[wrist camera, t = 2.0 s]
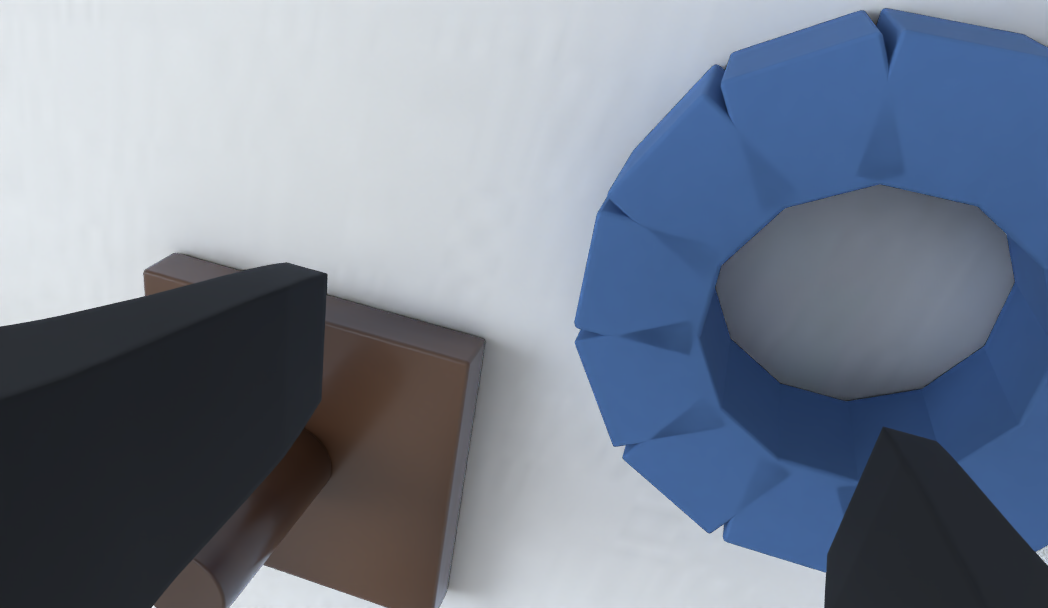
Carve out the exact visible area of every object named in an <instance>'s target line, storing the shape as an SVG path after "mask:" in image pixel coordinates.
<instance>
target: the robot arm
mask: <svg viewBox="0 0 1048 608" xmlns="http://www.w3.org/2000/svg"><path fill="white" fill-rule="evenodd" d="M326 295H327V274H326V273H323V272H319V271H315V270H312V269H308V268H305V267H301V266H297V265H294V264H290V263H279V264H272V265H267V266H261V267H257V268H252V269H248V270H244V271H240V272H236V273H232V274H228V275H224V276H220V277H216V278H213V279H209V280H205V281H201V282H197V283H194V284H190V285H186V286H182V287H178V288H175V289H171V290H167V291H163V292H159V293H155V294H152V295H148V296H144V297H140V298H136V299H131V300H127V301H123V302H118V303H114V304H110V305H105V306H101V307H97V308H92V309H88V310H83V311H79V312H75V313H70V314H66V315H62V316H57V317H52V318H47V319H42V320H36V321H31V322H25V323H20V324H14V325H8V326H1V327H0V608H151V607H152V606H153V605H154V604H155V603H156V601H157V600H158V599H159V598H160V597H161V595H162V594H163V593H164V592H165V591H166V589H167V588H168V587H169V586H170V584H171V583H172V582H173V581H174V580H175V578H176V577H177V576H178V575H179V574H180V573H181V572H182V571H183V570H184V568H185V567H186V566H187V565H188V564H189V563H190V562H191V561H192V560H193V558H194V557H195V556H196V555H197V554H198V553H199V552H200V551H201V550H202V549H203V547H204V546H205V545H206V544H207V543H208V542H209V541H210V540H211V539H212V537H213V536H214V535H215V534H216V533H217V532H218V531H219V530H220V529H221V528H222V526H223V525H224V524H225V523H226V522H227V521H228V520H229V519H230V518H231V516H232V515H233V514H234V513H235V512H236V511H237V510H238V509H239V508H240V507H241V505H242V504H243V503H244V502H245V501H246V500H247V499H248V498H249V497H250V495H251V494H252V493H253V492H254V491H255V490H256V489H257V487H258V486H259V485H260V484H261V483H262V482H263V481H264V480H265V478H266V477H267V476H268V475H269V474H270V473H271V472H272V471H273V469H274V468H275V467H276V466H277V465H278V464H279V462H280V461H281V460H282V459H283V458H284V456H285V455H286V454H287V452H288V451H289V449H290V448H291V446H292V445H293V443H294V442H295V441H296V439H297V438H298V436H299V435H300V433H301V432H302V430H303V429H304V427H305V426H306V424H307V422H308V421H309V419H310V418H311V416H312V415H313V413H314V411H315V410H316V408H317V407H318V405H319V404H320V402H321V399H322V378H323V358H324V337H325V316H326ZM824 608H1048V566H1047V565H1046V563H1045V562H1044V561H1043V560H1042V559H1041V558H1040V557H1039V556H1038V555H1037V553H1036V552H1035V551H1034V550H1033V549H1032V548H1031V547H1030V546H1029V544H1028V543H1027V542H1026V541H1025V540H1024V539H1023V538H1022V537H1021V535H1020V534H1019V533H1018V532H1017V531H1016V530H1015V529H1014V527H1013V526H1012V525H1011V524H1010V523H1009V522H1008V520H1007V519H1006V518H1005V517H1004V516H1003V515H1002V514H1001V512H1000V511H999V510H998V509H997V508H996V507H995V505H994V504H993V503H992V502H991V501H990V500H989V498H988V497H987V496H986V495H985V494H984V493H983V491H982V490H981V489H980V488H979V487H978V486H977V484H976V483H975V482H974V481H973V480H972V479H971V478H970V476H969V475H968V474H967V473H966V472H965V471H964V469H963V468H962V467H961V466H960V465H959V464H958V463H957V462H956V460H955V459H954V458H953V457H952V456H951V455H950V454H949V453H948V452H947V451H946V450H945V449H944V448H943V447H942V446H941V445H940V444H939V443H938V442H937V441H934V440H931V439H927V438H924V437H920V436H916V435H913V434H909V433H905V432H902V431H898V430H894V429H891V428H887V427H884V426H883V427H882V430H881V432H880V434H879V436H878V439H877V441H876V443H875V446H874V448H873V450H872V453H871V455H870V457H869V459H868V462H867V464H866V466H865V469H864V471H863V473H862V475H861V478H860V480H859V482H858V485H857V487H856V489H855V492H854V494H853V496H852V498H851V501H850V503H849V505H848V508H847V510H846V512H845V514H844V517H843V519H842V521H841V524H840V526H839V528H838V531H837V533H836V535H835V537H834V540H833V542H832V544H831V547H830V549H829V551H828V553H827V567H826V584H825V607H824Z"/></svg>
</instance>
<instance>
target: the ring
mask: <svg viewBox="0 0 1048 608" xmlns="http://www.w3.org/2000/svg"><path fill="white" fill-rule="evenodd" d="M879 184H881V185H885V186H890V187H894V188H898V189H903V190H907V191H912V192H916V193H920V194H925V195H929V196H934V197H938V198H942V199H947V200H951V201H956V202H960V203H964V204H969V205H973V206H977V207H978V208H979V209H980V210H982V211H983V212H984V213H985V214H986V215H987V216H988V217H989V218H990V219H991V220H992V221H993V222H994V223H995V224H996V225H997V226H998V227H999V228H1000V229H1001V230H1003V231H1004V232H1005V233H1006V234H1007V240H1008V245H1009V251H1010V257H1011V262H1012V268H1013V274H1014V279H1015V283H1014V285H1013V287H1012V289H1011V291H1010V293H1009V296H1008V298H1007V300H1006V302H1005V304H1004V306H1003V308H1002V310H1001V312H1000V314H999V316H998V319H997V321H996V323H995V325H994V327H993V329H992V331H991V333H990V335H989V337H988V339H987V341H986V344H985V346H983V347H982V348H980V349H979V350H978V351H976V352H975V353H973V354H972V355H970V356H969V357H967V358H966V359H965V360H963V361H962V362H960V363H959V364H957V365H956V366H954V367H953V368H951V369H950V370H949V371H947V372H946V373H944V374H943V375H941V376H940V377H938V378H937V379H935V380H934V381H933V382H931V383H930V384H928V385H927V386H925V387H924V388H922V389H919V390H913V391H907V392H900V393H894V394H888V395H882V396H876V397H870V398H863V399H857V400H851V401H843V400H840V399H836V398H832V397H829V396H825V395H821V394H818V393H814V392H810V391H807V390H803V389H799V388H796V387H792V386H788V385H784V384H781V383H779V382H778V381H777V380H776V379H775V378H774V377H772V376H771V375H770V374H769V373H768V372H767V371H766V370H765V369H764V368H762V367H761V366H760V365H759V364H758V363H757V362H756V361H755V360H754V359H752V358H751V357H750V356H749V355H748V354H747V353H746V352H745V351H744V350H742V349H741V348H740V347H739V346H738V345H737V344H736V343H735V342H734V341H732V340H731V338H730V335H729V332H728V329H727V325H726V322H725V319H724V316H723V312H722V309H721V306H720V302H719V299H718V296H717V293H716V289H715V286H716V283H717V279H718V276H719V273H720V269H721V266H722V265H723V264H724V263H725V262H726V261H727V260H728V259H729V258H730V257H732V256H733V255H734V254H735V253H736V252H737V251H738V250H739V249H740V248H742V247H743V246H744V245H745V244H746V243H747V242H748V241H749V240H750V239H752V238H753V237H754V236H755V235H756V234H757V233H758V232H759V231H760V230H762V229H763V228H764V227H765V226H766V225H767V224H768V223H769V222H770V221H772V220H773V219H774V218H775V217H776V216H777V215H778V214H779V213H780V212H782V211H783V210H784V209H785V208H788V207H792V206H796V205H800V204H804V203H808V202H812V201H816V200H820V199H824V198H828V197H832V196H835V195H839V194H843V193H847V192H851V191H855V190H859V189H863V188H867V187H871V186H875V185H879ZM574 323H575V327H577V328H578V329H581V330H580V332H579V334H578V336H577V338H576V340H575V345H576V348H577V350H578V353H579V356H580V358H581V361H582V364H583V366H584V369H585V372H586V374H587V377H588V380H589V382H590V385H591V388H592V390H593V393H594V396H595V398H596V401H597V404H598V407H599V409H600V412H601V415H602V417H603V420H604V423H605V425H606V428H607V431H608V433H609V436H610V439H611V441H612V444H613V446H615V447H616V446H623V445H626V447H625V450H624V454H623V459H624V460H625V461H626V462H627V463H628V464H629V465H630V466H632V467H633V468H634V469H635V470H636V471H637V472H638V473H640V474H641V475H642V476H643V477H644V478H645V479H646V480H648V481H649V482H650V483H651V484H652V485H653V486H655V487H656V488H657V489H658V490H659V491H660V492H661V493H663V494H664V495H665V496H666V497H667V498H668V499H669V500H671V501H672V502H673V503H674V504H675V505H676V506H677V507H679V508H680V509H681V510H682V511H683V512H684V513H686V514H687V515H688V516H689V517H690V518H691V519H692V520H694V521H695V522H696V523H697V524H698V525H699V526H700V527H702V528H703V529H704V530H705V531H706V532H707V533H712V532H713V531H715V530H716V529H717V528H719V527H720V526H722V525H723V524H724V530H723V539H724V541H726V542H728V543H731V544H735V545H738V546H741V547H744V548H748V549H751V550H754V551H757V552H761V553H764V554H767V555H770V556H774V557H777V558H780V559H783V560H787V561H790V562H793V563H796V564H800V565H803V566H806V567H809V568H813V569H816V570H819V571H822V572H826V567H827V553H828V551H829V549H830V547H831V544H832V542H833V540H834V537H835V535H836V533H837V531H838V528H839V526H840V524H841V521H842V519H843V517H844V514H845V512H846V510H847V508H848V505H849V503H850V501H851V498H852V496H853V494H854V492H855V489H856V487H857V485H858V482H859V480H860V478H861V475H862V473H863V471H864V469H865V466H866V464H867V462H868V459H869V457H870V455H871V453H872V450H873V448H874V446H875V443H876V441H877V439H878V436H879V434H880V432H881V430H882V427H883V426H884V427H887V428H891V429H894V430H898V431H902V432H905V433H909V434H913V435H916V436H920V437H924V438H927V439H931V440H934V441H937V442H938V443H939V444H940V445H941V446H942V447H943V448H944V449H945V450H946V451H947V452H948V453H949V454H950V455H951V456H952V457H953V458H954V459H955V460H956V462H957V463H958V464H959V465H960V466H961V467H962V468H963V469H964V471H965V472H966V473H967V474H968V475H969V476H970V478H971V479H972V480H973V481H974V482H975V483H976V484H977V486H978V487H979V488H980V489H981V490H982V491H983V493H984V494H985V495H986V496H987V497H988V498H989V500H990V501H991V502H992V503H993V504H994V505H995V507H996V508H997V509H998V510H999V511H1000V512H1001V514H1002V515H1003V516H1004V517H1005V518H1006V519H1007V520H1008V522H1009V523H1010V524H1011V525H1012V526H1013V527H1014V529H1015V530H1016V531H1017V532H1018V533H1019V534H1020V535H1021V537H1022V538H1023V539H1024V540H1025V541H1026V542H1027V543H1028V544H1029V546H1030V547H1031V548H1032V549H1033V550H1034V551H1035V552H1036V551H1038V550H1040V549H1042V548H1044V547H1045V546H1047V545H1048V47H1046V46H1044V45H1042V44H1040V43H1038V42H1036V41H1035V40H1033V39H1031V38H1029V37H1027V36H1026V35H1024V34H1019V33H1014V32H1008V31H1003V30H998V29H993V28H988V27H982V26H977V25H972V24H967V23H961V22H956V21H951V20H946V19H941V18H935V17H930V16H925V15H920V14H914V13H909V12H904V11H899V10H894V9H888V8H885V9H883V10H882V11H881V13H880V16H879V19H878V22H877V25H875V24H874V23H873V21H872V20H871V19H870V17H869V16H868V15H867V13H866V12H865V11H864V10H860V11H857V12H854V13H851V14H848V15H845V16H842V17H839V18H836V19H833V20H830V21H827V22H824V23H821V24H818V25H815V26H812V27H808V28H805V29H802V30H799V31H796V32H793V33H790V34H787V35H784V36H781V37H778V38H775V39H772V40H769V41H766V42H763V43H760V44H757V45H754V46H751V47H748V48H745V49H742V50H739V51H736V52H733V53H732V54H731V55H730V58H729V61H728V64H727V67H726V70H724V69H723V68H722V67H721V66H719V65H714V66H712V67H711V68H710V69H709V70H708V71H707V72H706V73H705V74H704V76H703V77H702V78H701V79H700V80H699V81H698V82H697V83H696V84H695V85H694V86H693V87H692V88H691V89H690V90H689V92H688V93H687V94H686V95H685V96H684V97H683V98H682V99H681V100H680V101H679V102H678V103H677V104H676V105H675V106H674V108H673V109H672V110H671V111H670V112H669V113H668V114H667V115H666V116H665V117H664V118H663V119H662V120H661V121H660V123H659V124H658V125H657V126H656V127H655V128H654V129H653V130H652V131H651V132H650V133H649V134H648V135H647V136H646V137H645V139H644V140H643V141H642V142H641V143H640V144H639V145H638V146H637V147H636V148H635V149H634V150H633V152H632V153H631V155H630V157H629V158H628V160H627V162H626V163H625V165H624V167H623V168H622V170H621V172H620V173H619V175H618V177H617V178H616V180H615V182H614V183H613V185H612V187H611V188H610V190H609V192H608V195H607V198H606V199H605V201H604V203H603V204H602V206H601V208H600V209H599V211H598V213H597V216H596V221H595V225H594V230H593V235H592V240H591V245H590V249H589V254H588V259H587V264H586V269H585V273H584V278H583V283H582V288H581V293H580V297H579V302H578V307H577V312H576V317H575V321H574Z"/></svg>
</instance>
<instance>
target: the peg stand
mask: <svg viewBox="0 0 1048 608" xmlns="http://www.w3.org/2000/svg"><path fill="white" fill-rule="evenodd" d="M236 272H240V271H239V270H236V269H232V268H229V267H225V266H222V265H218V264H214V263H211V262H207V261H204V260H200V259H197V258H193V257H189V256H186V255H182V254H179V253H173V254H171V255H169V256H168V257H166V258H164V259H162V260H161V261H159V262H157V263H155V264H154V265H152V266H150V267H148V268H147V269H145V270H144V273H143V275H144V290H145V296H148V295H152V294H155V293H159V292H163V291H167V290H171V289H175V288H178V287H182V286H186V285H190V284H194V283H197V282H201V281H205V280H209V279H213V278H216V277H220V276H224V275H228V274H232V273H236ZM484 348H485V340H484V339H482V338H479V337H475V336H472V335H468V334H465V333H461V332H457V331H454V330H450V329H447V328H443V327H440V326H436V325H432V324H429V323H425V322H422V321H418V320H415V319H411V318H407V317H404V316H400V315H397V314H393V313H390V312H386V311H382V310H379V309H375V308H372V307H368V306H364V305H361V304H357V303H354V302H350V301H347V300H343V299H339V298H336V297H332V296H329V295H326V316H325V337H324V358H323V378H322V399H321V402H320V404H319V405H318V407H317V408H316V410H315V411H314V413H313V415H312V416H311V418H310V419H309V421H308V422H307V424H306V426H305V427H304V429H303V430H302V432H301V433H300V435H299V436H298V438H297V439H296V441H295V442H294V443H293V445H292V446H291V448H290V449H289V451H288V452H287V454H286V455H285V456H284V458H283V459H282V460H281V461H280V462H279V464H278V465H277V466H276V467H275V468H274V469H273V471H272V472H271V473H270V474H269V475H268V476H267V477H266V478H265V480H264V481H263V482H262V483H261V484H260V485H259V486H258V487H257V489H256V490H255V491H254V492H253V493H252V494H251V495H250V497H249V498H248V499H247V500H246V501H245V502H244V503H243V504H242V505H241V507H240V508H239V509H238V510H237V511H236V512H235V513H234V514H233V515H232V516H231V518H230V519H229V520H228V521H227V522H226V523H225V524H224V525H223V526H222V528H221V529H220V530H219V531H218V532H217V533H216V534H215V535H214V536H213V537H212V539H211V540H210V541H209V542H208V543H207V544H206V545H205V546H204V547H203V549H202V550H201V551H200V552H199V553H198V554H197V555H196V556H195V557H194V558H193V560H192V561H191V562H190V563H189V564H188V565H187V566H186V567H185V568H184V570H183V571H182V572H181V573H180V574H179V575H178V576H177V577H176V578H175V580H174V581H173V582H172V583H171V584H170V586H169V587H168V588H167V589H166V591H165V592H164V593H163V594H162V595H161V597H160V598H159V599H158V600H157V601H156V603H155V604H154V606H155V607H156V608H229V607H230V606H231V605H232V603H233V602H234V601H235V600H236V598H237V597H238V596H239V594H240V593H241V592H242V591H243V589H244V588H245V587H246V586H247V584H248V583H249V582H250V580H251V579H252V578H253V577H254V575H255V574H256V573H257V572H258V570H259V569H260V568H261V566H262V565H265V566H268V567H271V568H274V569H277V570H280V571H283V572H286V573H288V574H291V575H294V576H297V577H300V578H303V579H306V580H309V581H312V582H314V583H317V584H320V585H323V586H326V587H329V588H332V589H335V590H338V591H341V592H343V593H346V594H349V595H352V596H355V597H358V598H361V599H364V600H367V601H370V602H372V603H375V604H378V605H381V606H384V607H387V608H439V607H440V605H441V603H442V601H443V599H444V597H445V595H446V593H447V589H448V583H449V576H450V570H451V563H452V557H453V550H454V544H455V537H456V531H457V524H458V517H459V511H460V504H461V498H462V491H463V485H464V478H465V472H466V465H467V459H468V452H469V446H470V439H471V433H472V426H473V420H474V413H475V406H476V400H477V393H478V387H479V380H480V374H481V367H482V361H483V354H484Z"/></svg>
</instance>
